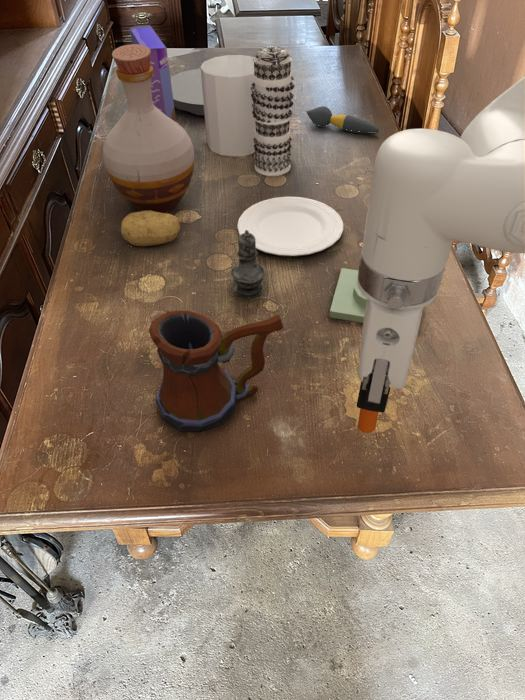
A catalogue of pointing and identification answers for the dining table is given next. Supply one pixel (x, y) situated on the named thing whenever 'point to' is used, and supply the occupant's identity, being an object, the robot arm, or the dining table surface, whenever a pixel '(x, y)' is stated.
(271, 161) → the decorative candle
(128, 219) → the potato
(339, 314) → the push button block
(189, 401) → the mug
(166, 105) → the cereal box
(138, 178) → the jug
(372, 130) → the paintbrush
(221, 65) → the container
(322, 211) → the plate
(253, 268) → the chess piece
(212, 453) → the dining table surface
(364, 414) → the marker
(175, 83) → the flat disc
